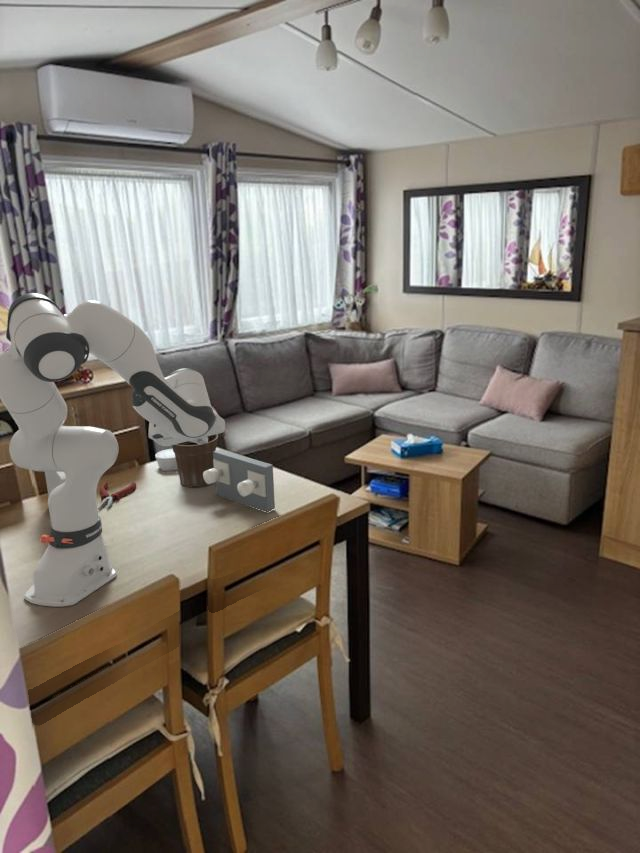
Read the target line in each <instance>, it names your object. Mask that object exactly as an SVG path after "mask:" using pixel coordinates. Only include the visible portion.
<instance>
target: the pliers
mask: <svg viewBox="0 0 640 853" xmlns="http://www.w3.org/2000/svg"><path fill="white" fill-rule="evenodd" d="M107 487H109V485H108V482H104V483H103V484H102V485H101V486H100V488H99V492H100V495H101V496H100V499H101V500H100V501H101V503H100V504H99V507H97V509H98V510H101V509H103V508H105V506H106V510H108V509H109V508H110V507H111V506H112V505H113V502H120V499H121V498H123V497H125V496H127V495H130V494H131V493H133V492H135V490H136V488H137V483H136V482H134V481H132V482H131V483H130V484H129V485H128V486H126V487H125V488H123V489H120V490H118V491H116V492H114V493H112V494H109V493H108V491H107V489H108V488H107ZM106 488H107V489H106Z"/></svg>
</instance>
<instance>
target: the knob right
mask: <svg viewBox="0 0 640 853" xmlns="http://www.w3.org/2000/svg"><path fill="white" fill-rule="evenodd" d="M257 486H258V484H257V482H256V481H253V482H252V481H251V480H249V479H247V480H245V481H242V482H240V483H238V485H237V489H238V492H239V494H240V495H241V496H247V495H249V494H252V493H253V492H254V491H255V488H256V487H257Z"/></svg>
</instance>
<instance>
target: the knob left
mask: <svg viewBox="0 0 640 853" xmlns="http://www.w3.org/2000/svg"><path fill="white" fill-rule="evenodd" d="M222 475H223V472H222V470H216V469H215V468H212V469H209V470H206V471H204V473H203V478H204V481H205V482H206V483H207V484H209V485H211V484H214V483H216V482H217V481H218V480H219V476H222Z"/></svg>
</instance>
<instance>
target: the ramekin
mask: <svg viewBox="0 0 640 853" xmlns="http://www.w3.org/2000/svg"><path fill="white" fill-rule="evenodd" d="M154 456H155V457H154V458H155V459H156V463H157V465H158V467H159V469H160V470H162V471H176V470H177V471H178V467H177V463H176V458H175V453H174V452H173V448H168V449H167V448H166V449H163V450H160V451H158V452H156V453H155V455H154Z"/></svg>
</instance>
